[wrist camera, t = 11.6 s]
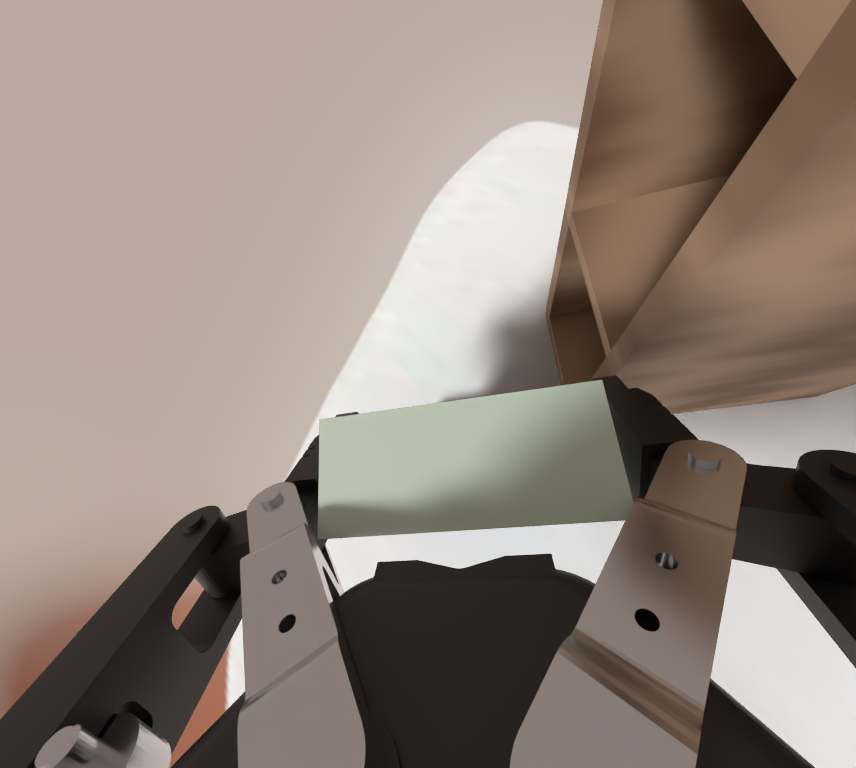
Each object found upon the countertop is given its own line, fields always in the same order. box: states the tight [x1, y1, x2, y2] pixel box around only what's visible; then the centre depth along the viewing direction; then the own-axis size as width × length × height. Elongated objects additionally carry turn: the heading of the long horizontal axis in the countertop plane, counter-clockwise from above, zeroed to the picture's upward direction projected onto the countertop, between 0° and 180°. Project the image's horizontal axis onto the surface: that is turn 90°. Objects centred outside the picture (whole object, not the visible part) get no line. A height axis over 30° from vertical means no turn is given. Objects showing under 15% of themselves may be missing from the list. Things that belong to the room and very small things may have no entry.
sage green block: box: [318, 380, 634, 539], centre depth 13 cm, size 6×4×14 cm, turn 95°
